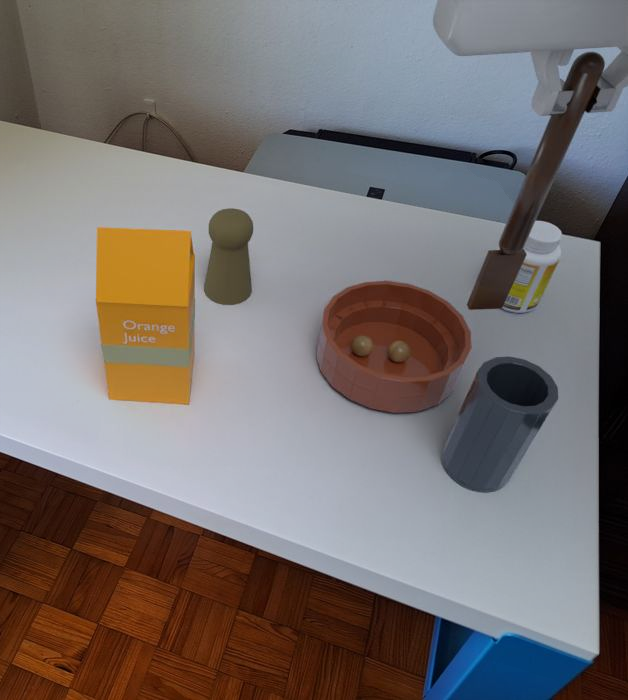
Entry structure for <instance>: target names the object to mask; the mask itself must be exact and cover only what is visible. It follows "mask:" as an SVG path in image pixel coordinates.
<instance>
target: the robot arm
mask: <svg viewBox="0 0 628 700" xmlns="http://www.w3.org/2000/svg"><path fill="white" fill-rule="evenodd" d="M432 26H433V29H434V31H435V33H436V34H437V36H438V38H439V39H440V41H441V42H442V44H444V45H445V47H446V48H447V49H448V50H449V51H450V52H451V53H452V54H454V56H457V57H472V56H473V57H475V56H488V55H505V54H520V53H530V56H531V59H532V60H531V61H532V64H533V69H534V71H535V76H536V78H537V81H538V82H537V85H536V87H535V90H534V94H533V97H532V99H531V109H532V110H533V111H534V112H535V113H536V114H537V116H539V117H546V116H548V117H550V116H551V115H561V114H564V113H565V112H566V110H567V105H566V104H567V103H568V102H569V101H570V100H571V97H572V95H573V92H574V90H573V89H572V88H571V87H569V86H567V85H565V84H566V83H565V80H564V79H562V78H561V77H560V71H559V66H560V67H563V66H568V65H569V64H570V62H571V61H570V60H571V59H572V55H573V53H574V51H575V50H582V49H584V50H585V49H600V48H602V49H603V48H617V49H619V50H620V52H619V53H618V55H617V56H615V58H614V59H613V60H612V61H611V62H610V63H609V64H608V65H607V67H606V68H604V70H603V72H602V75H601V77H600V79H599V81H598V83H597V86H596V88H595V90H594V92H593V95H592V97H591V99H590V101H589V103H588V106H587V108H586V110H585V113H587V114H593V113H608V112H609V113H610V112H613V110H614V109H615V108H616V105H617V103H618V101H619V99H620V97H621V95H622V93H623V90H624V88H627V87H628V0H436V4H435V8H434V12H433V16H432Z"/></svg>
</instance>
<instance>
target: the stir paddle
mask: <svg viewBox="0 0 628 700" xmlns="http://www.w3.org/2000/svg"><path fill="white" fill-rule="evenodd" d="M605 61H606V60H605V58H604V57H603V56H602V55H601V54H600V53H599V52H597V51H585V52H584V53H580V55H578V56H576V58H575V59H574V60H573V62H572V63H571V66H570V69H569V70H568V74H567V76H566V79H565V80H564V82H565V83H566V84H565V85H567V86H569V87H571V88H572V89H573V90H574V92H573V95H572V97H571V100H570V101H569V102H568V103H567V104H566V105H567V110H566V112H565V113H564V114H561V115H550V116H549V120H548V122H547V124H546V127H545V129H544V131H543V134H542V136H541V139H540V141H539V143H538V145H537V148H536V151H535V154H534V156H533V158H532V160H531V162H530V165H529V168H528V170H527V173H526V175H525V177H524V179H523V182H522V184H521V187H520V190H519V192H518V194H517V197H516V199H515V202H514V204H513V206H512V209H511V211H510V214H509V215H508V218H507V221H506V223H505V226H504V228H503V231H502V233H501V235H500V237H499V241H498V248H499V249H489V250H487V253H486V256H485V258H484V261H483V263H482V266H481V268H480V271H479V273H478V276H477V278H476V280H475V283H474V286H473V288H472V291H471V292H470V295H469V297H468V301H467V303H466V306H467V309H468V310H469V311H476V310H479V311H481V310H503V309H502V307H503V305H504V303H505V301H506V299H507V296H508V294H509V292H510V290H511V288H512V286H513V283H514V281H515V279H516V277H517V275H518V273H519V270H520V268H521V266H522V264H523V262H524V260H525V257H526V255H527V254H526V252H525V250H524V249H523V247H524V245H525V243H526V241H527V239H528V236H529V234H530V232H531V230H532V227H533V225H534V223H535V221H537V220H538V219H537V218H538V216H539V215H540V211H541V209H542V208H543V205H544V203H545V201H546V199H547V197H548V194H549V192H550V190H551V187H552V185H553V183H554V181H555V179H556V176H557V174H558V173H559V170H560V168H561V165H562V163H563V161H564V159H565V156H566V154H567V151H568V150H569V148H570V145H571V143H572V141H573V139H574V137H575V135H576V133H577V130H578V128H579V126H580V123H581V121H582V119H583V117H584V114H585V113H586V111H585V110H586V108H587V106H588V103H589V101H590V99H591V97H592V95H593V92H594V90H595V88H596V86H597V83H598V81H599V79H600V77H601V75H602V72H603V71H604V70H605V67H606V62H605Z"/></svg>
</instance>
